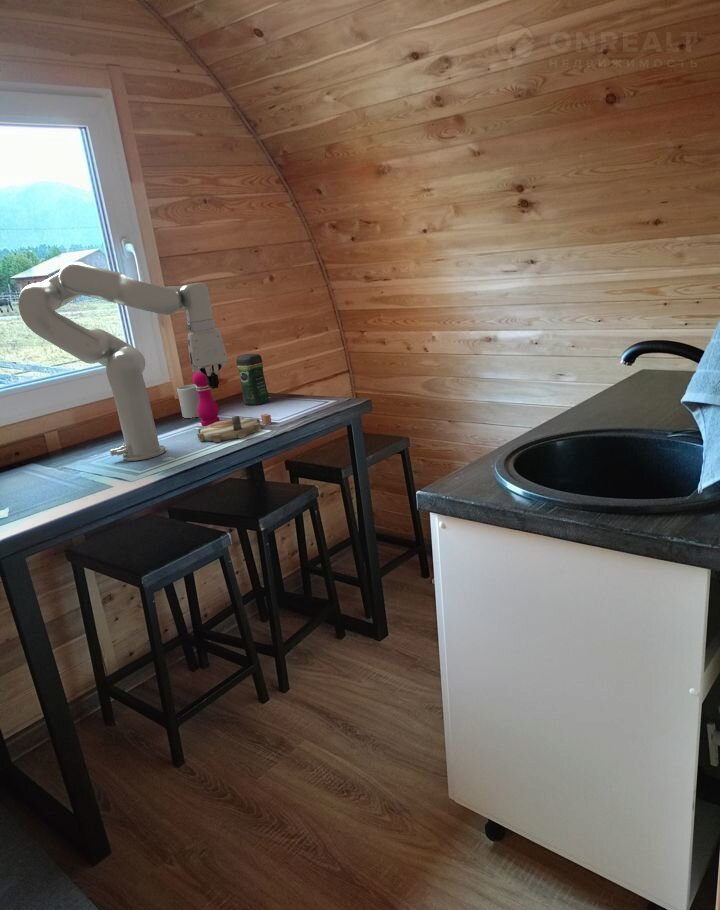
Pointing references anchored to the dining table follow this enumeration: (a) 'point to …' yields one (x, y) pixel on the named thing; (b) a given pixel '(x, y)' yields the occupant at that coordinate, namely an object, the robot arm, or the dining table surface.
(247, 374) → the coffee jar
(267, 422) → the index marker
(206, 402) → the pepper mill
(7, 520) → the dining table surface
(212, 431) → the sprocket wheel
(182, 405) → the mug
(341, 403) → the dining table surface
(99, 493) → the dining table surface
